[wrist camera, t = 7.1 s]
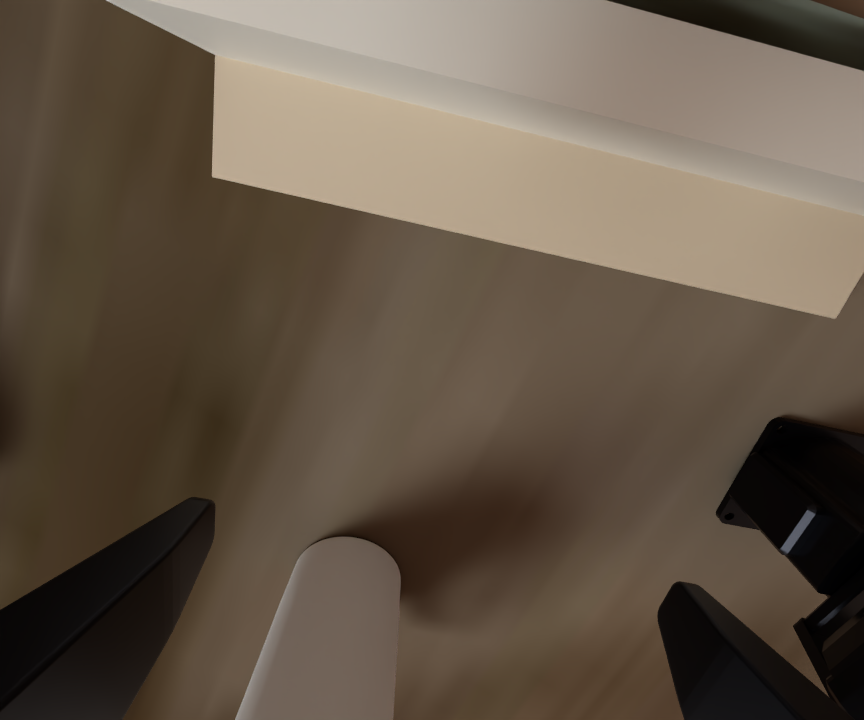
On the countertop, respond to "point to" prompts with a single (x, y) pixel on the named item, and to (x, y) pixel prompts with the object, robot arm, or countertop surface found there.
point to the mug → (331, 638)
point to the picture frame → (777, 23)
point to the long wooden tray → (549, 132)
